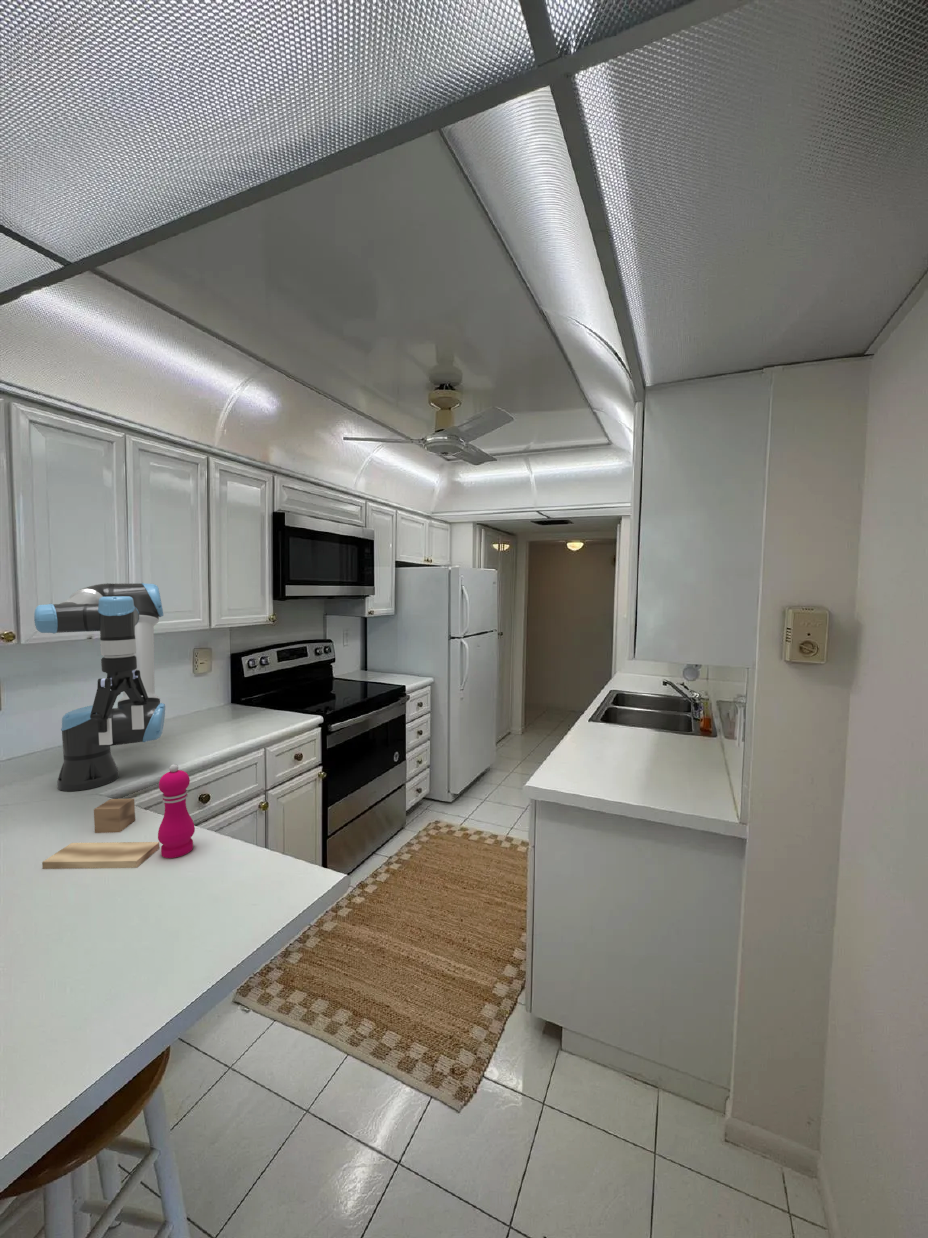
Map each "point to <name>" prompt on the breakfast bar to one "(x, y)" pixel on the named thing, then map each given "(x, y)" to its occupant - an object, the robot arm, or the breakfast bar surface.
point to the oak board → (101, 855)
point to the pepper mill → (175, 815)
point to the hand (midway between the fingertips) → (122, 736)
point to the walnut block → (114, 815)
